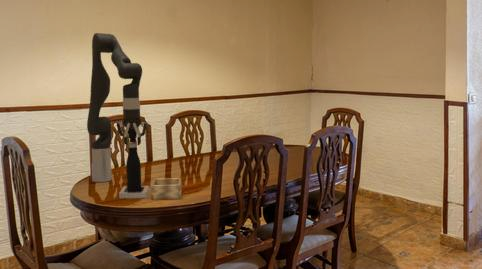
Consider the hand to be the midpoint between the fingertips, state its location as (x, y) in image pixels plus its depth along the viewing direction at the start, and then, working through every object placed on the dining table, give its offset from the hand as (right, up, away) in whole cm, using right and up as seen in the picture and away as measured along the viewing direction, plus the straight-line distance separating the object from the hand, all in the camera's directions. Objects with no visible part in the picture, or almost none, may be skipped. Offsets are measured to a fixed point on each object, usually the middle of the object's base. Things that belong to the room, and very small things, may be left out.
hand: (132, 144), depth 215 cm
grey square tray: (0, -23, +3) cm, 23 cm away
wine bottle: (0, -23, +3) cm, 24 cm away
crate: (+15, -23, +2) cm, 28 cm away
